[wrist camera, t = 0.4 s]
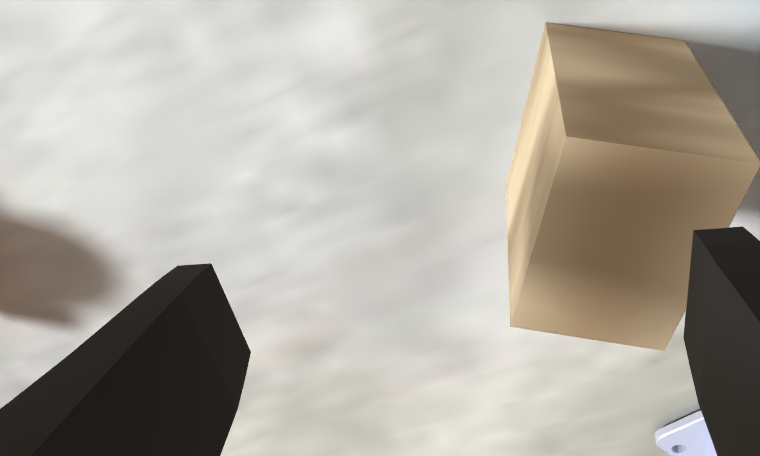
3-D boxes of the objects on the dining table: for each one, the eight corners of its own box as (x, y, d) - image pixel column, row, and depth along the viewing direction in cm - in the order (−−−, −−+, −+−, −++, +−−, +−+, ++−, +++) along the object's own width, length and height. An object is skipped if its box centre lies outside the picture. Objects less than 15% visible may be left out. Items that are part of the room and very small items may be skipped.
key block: (684, 40, 16) (761, 164, 12) (622, 201, 20) (664, 350, 15) (545, 22, 17) (566, 136, 12) (506, 184, 20) (510, 326, 15)
